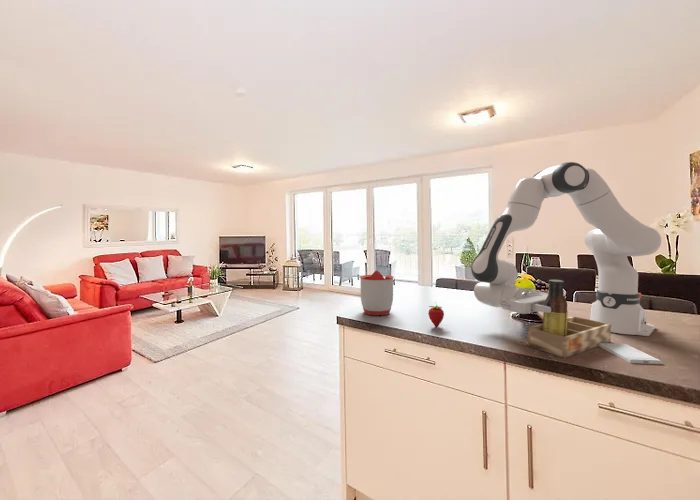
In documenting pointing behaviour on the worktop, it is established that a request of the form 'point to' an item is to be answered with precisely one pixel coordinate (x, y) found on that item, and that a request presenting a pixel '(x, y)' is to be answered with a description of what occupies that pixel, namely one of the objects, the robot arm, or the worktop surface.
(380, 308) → the citrus juicer
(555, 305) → the sauce bottle
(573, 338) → the condiment caddy
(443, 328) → the worktop surface
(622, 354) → the hard drive
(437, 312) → the strawberry
